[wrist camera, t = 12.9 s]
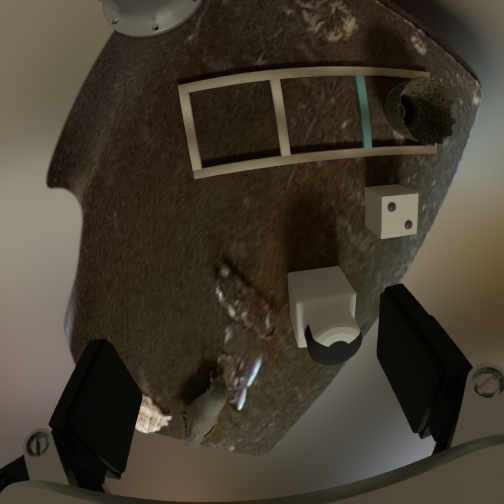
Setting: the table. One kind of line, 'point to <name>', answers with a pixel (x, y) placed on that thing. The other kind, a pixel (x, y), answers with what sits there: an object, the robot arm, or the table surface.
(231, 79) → the ladder
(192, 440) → the decorative bird
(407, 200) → the die
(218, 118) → the table surface
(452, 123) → the dark patterned vase
